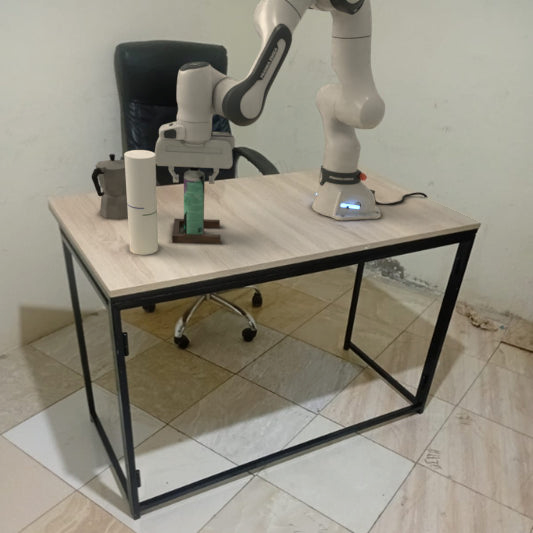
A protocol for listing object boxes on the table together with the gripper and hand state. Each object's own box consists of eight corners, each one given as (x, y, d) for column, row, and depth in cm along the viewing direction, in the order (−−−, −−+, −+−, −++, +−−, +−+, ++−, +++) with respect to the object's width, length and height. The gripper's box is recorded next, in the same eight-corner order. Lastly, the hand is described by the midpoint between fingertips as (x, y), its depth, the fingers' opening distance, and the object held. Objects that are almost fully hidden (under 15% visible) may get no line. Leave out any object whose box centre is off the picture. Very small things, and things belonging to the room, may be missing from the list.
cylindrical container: (132, 242, 134) (126, 149, 122) (159, 243, 135) (156, 150, 123) (127, 254, 128) (122, 157, 116) (156, 255, 128) (153, 159, 117)
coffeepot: (116, 203, 157) (112, 146, 148) (142, 209, 154) (140, 151, 145) (83, 220, 144) (76, 158, 135) (110, 227, 141) (105, 164, 133)
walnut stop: (219, 225, 148) (219, 219, 147) (220, 243, 137) (220, 237, 136) (174, 224, 146) (174, 218, 145) (172, 242, 136) (172, 235, 135)
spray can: (205, 231, 144) (206, 162, 134) (201, 239, 139) (202, 168, 129) (186, 229, 144) (186, 160, 135) (181, 236, 139) (181, 166, 130)
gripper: (234, 129, 132) (232, 180, 139) (155, 125, 129) (156, 177, 136) (235, 135, 127) (233, 188, 133) (152, 131, 124) (154, 185, 130)
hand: (193, 182), depth 134 cm, fingers open, 8 cm apart
